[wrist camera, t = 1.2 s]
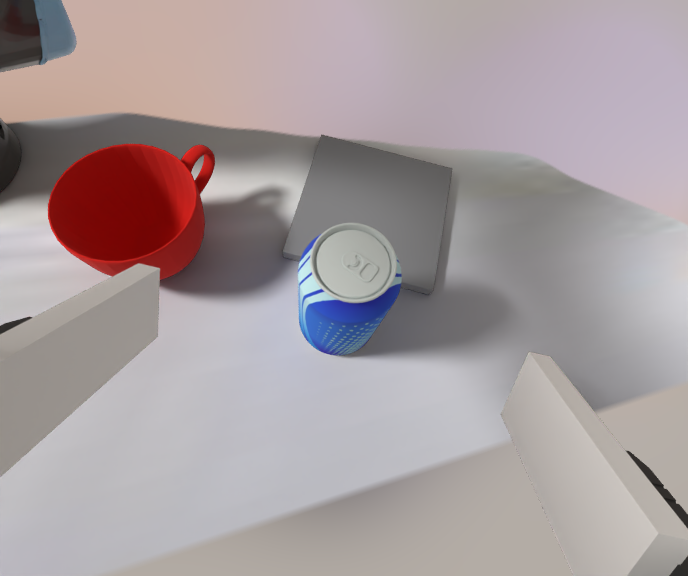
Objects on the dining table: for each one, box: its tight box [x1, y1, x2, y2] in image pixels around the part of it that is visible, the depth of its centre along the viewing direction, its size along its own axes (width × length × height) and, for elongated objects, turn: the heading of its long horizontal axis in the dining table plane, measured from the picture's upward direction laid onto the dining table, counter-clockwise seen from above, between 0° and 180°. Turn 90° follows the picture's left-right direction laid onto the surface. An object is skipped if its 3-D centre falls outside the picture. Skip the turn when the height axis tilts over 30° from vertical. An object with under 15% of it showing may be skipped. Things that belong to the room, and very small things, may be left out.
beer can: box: [298, 223, 402, 355], centre depth 36 cm, size 8×8×16 cm
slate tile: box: [283, 135, 452, 295], centre depth 49 cm, size 18×18×2 cm
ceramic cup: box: [48, 144, 215, 280], centre depth 41 cm, size 13×17×10 cm
